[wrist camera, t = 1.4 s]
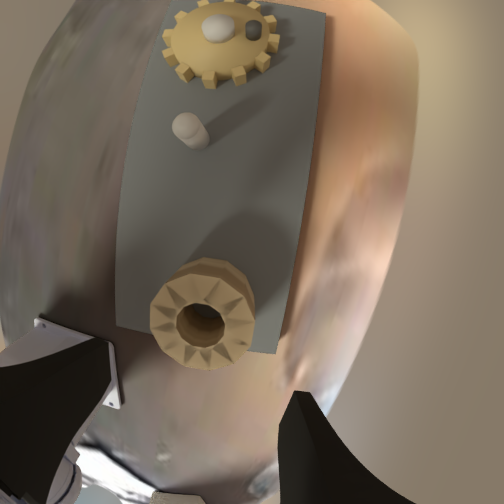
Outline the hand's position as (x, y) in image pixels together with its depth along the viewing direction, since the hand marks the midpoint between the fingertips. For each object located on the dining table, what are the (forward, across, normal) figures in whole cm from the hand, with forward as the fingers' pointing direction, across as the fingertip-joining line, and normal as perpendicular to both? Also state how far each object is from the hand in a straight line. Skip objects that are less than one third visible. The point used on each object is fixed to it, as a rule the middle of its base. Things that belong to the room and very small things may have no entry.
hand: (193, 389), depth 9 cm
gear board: (+11, +3, -9) cm, 14 cm away
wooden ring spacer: (+9, +1, 0) cm, 9 cm away
